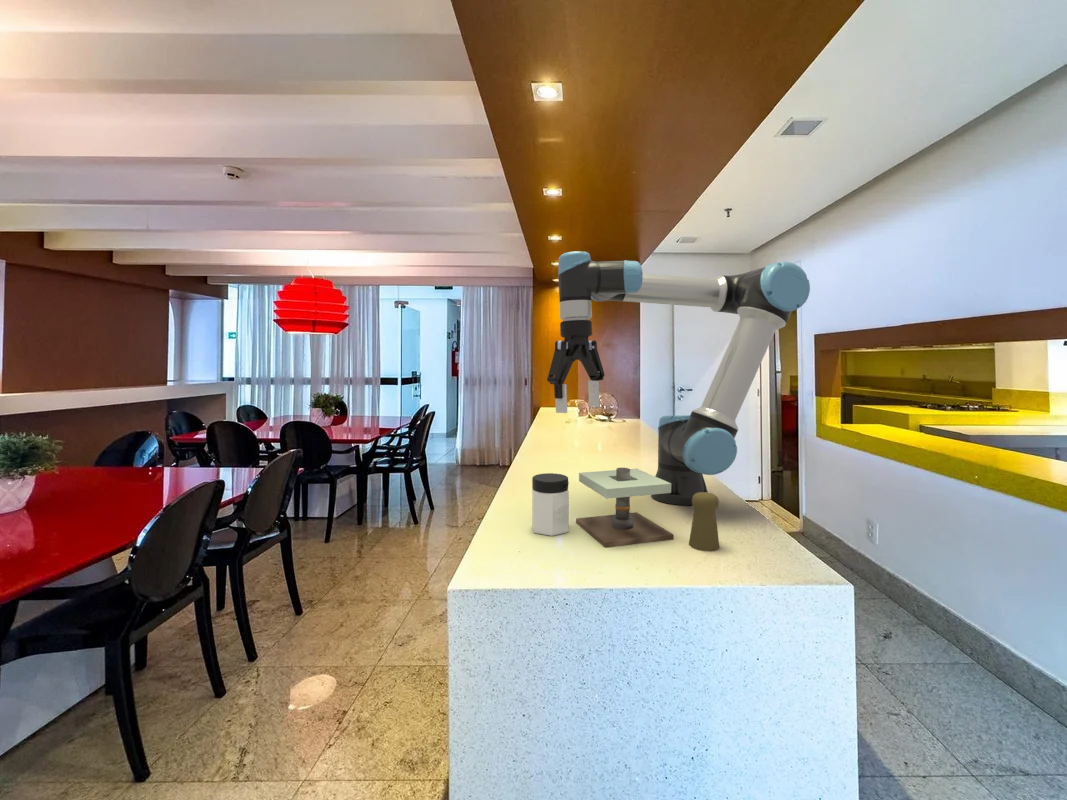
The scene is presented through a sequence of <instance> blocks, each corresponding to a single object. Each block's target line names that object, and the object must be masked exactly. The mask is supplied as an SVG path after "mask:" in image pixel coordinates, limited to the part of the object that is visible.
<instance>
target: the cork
mask: <svg viewBox="0 0 1067 800" xmlns="http://www.w3.org/2000/svg"><path fill="white" fill-rule="evenodd" d="M719 503H720V501H719V498H718V496H717V495H716V494H714V493H712V492H709V491H708V492H698V493H696V494H694V495H693V498H692V505H691V506H692V507H693V508H694V511H693V516H692V517H693V518H692V522H691V528H690V535H689V541H688V546H689V547H690V546H691V547H690V548H692V549H694V550H698V551H702V552H715V551H718V550H719V549H720V541H719V540H720V539H719V530H718V523H717V513H716V511H717V509H718V508H719Z"/></svg>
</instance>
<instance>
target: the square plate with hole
mask: <svg viewBox="0 0 1067 800" xmlns="http://www.w3.org/2000/svg"><path fill="white" fill-rule="evenodd" d="M629 469H630V481H616V469H615V470H613V469H612V470H599V471H586V472H579V473H578V482H580V483H581V484H583V485H584V486H586V487H587V488H589V489H591V490H592V491H594V492H596V493H597V494H599V495H600V496H602V497H603V498H605V499H607V500H608V499H616V498H620V497H630V498H631V497H639V496H642V497H643V496H651V495H653V494H664V493H671V483H669V482H667V481H664V480H662V479H660V478H657V477H655V476H656V475H655V476H654V475H653V474H650V473H648V472H646V471H643V470H641V469H638V468H629Z"/></svg>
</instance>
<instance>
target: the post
mask: <svg viewBox="0 0 1067 800" xmlns="http://www.w3.org/2000/svg"><path fill="white" fill-rule="evenodd" d="M630 469H631V468H628V467H617V468H616V469H615V470H616V481H630ZM630 498H631V497H620V498H615V514H607V515H597V516H596V515H595V516H588V517H587V516H586V517H577V518H575V523H576V524H577V525H578V526H579V527H581V529H583V530H584V531H585V532H586V533H587V534H588V535H590V536H591V537H592V538H593V539H594V540H596V541H597V542H598V543H599V544H600V545H602V547H604V548H610V547H619V546H626V545H627V546H628V545H636V544H637V545H638V544H644V543H645V544H646V543H651V542H661V541H667V540H668V541H669V540H674V534H673V533H672V532H670V531H669V530H667V529H666V528H664V527H662V526H661V525H659V524H658V523H655V522H654V521H652V520H651V519H649V518H647V517H646V516H644V515H642V514H641V513H639V512H637V511H634V512H630V510H631V505H630V504H631V501H630Z"/></svg>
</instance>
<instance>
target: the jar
mask: <svg viewBox="0 0 1067 800" xmlns="http://www.w3.org/2000/svg"><path fill="white" fill-rule="evenodd" d="M531 479H532V480H531V482H532V484H531V487H532V489H531V490H532V491H531V495H532V497H531V499H532V500H531V504H532V505H531V507H532V508H531V510H532V511H531V512H532V513H531V514H532V515H531V517H532V521H531V523H532V524H531V525H532V531H533V533H534V534H538V535H545V536H549V537H555V536H557V535H558V536H559V535H562V534H565V533H569V527H570V526H569V525H570V523H569V522H570V521H569V520H570V519H569V518H570V517H569V510H570V509H569V507H570V503H569V502H570V501H569V499H570V494H569V493H570V492H569V485H570V482H569V477H568V476H567V475H564V474H561V473H553V472H549V473H547V472H546V473H538V474H535V475H533V476H532V477H531Z"/></svg>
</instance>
